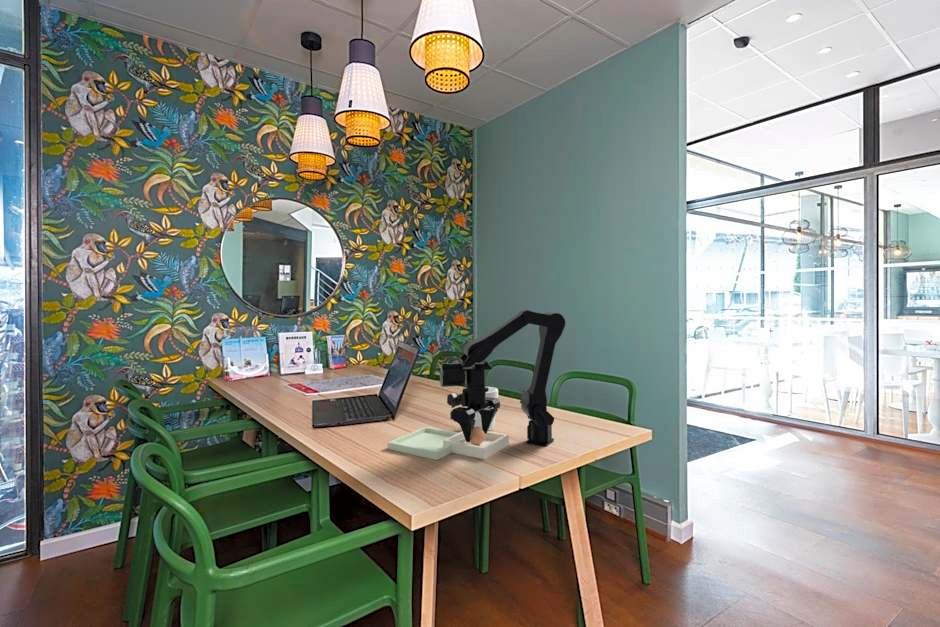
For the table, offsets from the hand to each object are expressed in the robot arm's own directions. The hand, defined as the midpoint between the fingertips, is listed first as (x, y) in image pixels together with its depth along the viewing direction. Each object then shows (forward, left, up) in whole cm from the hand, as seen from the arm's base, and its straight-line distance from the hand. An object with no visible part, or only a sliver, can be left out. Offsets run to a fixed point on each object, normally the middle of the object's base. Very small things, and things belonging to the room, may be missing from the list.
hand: (476, 437), depth 132 cm
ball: (0, 0, +1) cm, 1 cm away
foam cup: (+8, -18, -3) cm, 20 cm away
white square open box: (0, 0, -3) cm, 3 cm away
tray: (+13, +5, -3) cm, 14 cm away
